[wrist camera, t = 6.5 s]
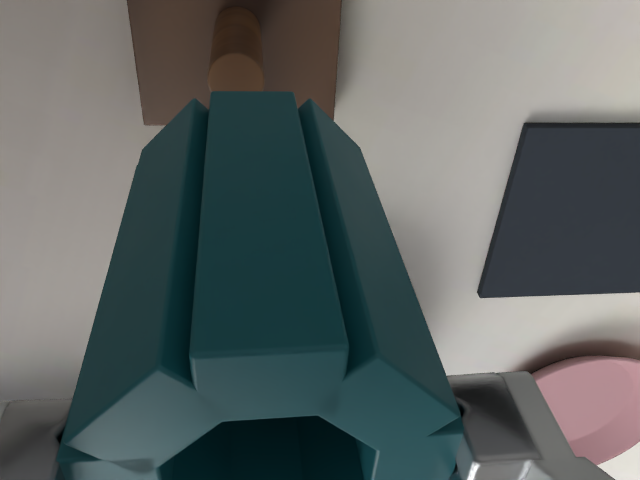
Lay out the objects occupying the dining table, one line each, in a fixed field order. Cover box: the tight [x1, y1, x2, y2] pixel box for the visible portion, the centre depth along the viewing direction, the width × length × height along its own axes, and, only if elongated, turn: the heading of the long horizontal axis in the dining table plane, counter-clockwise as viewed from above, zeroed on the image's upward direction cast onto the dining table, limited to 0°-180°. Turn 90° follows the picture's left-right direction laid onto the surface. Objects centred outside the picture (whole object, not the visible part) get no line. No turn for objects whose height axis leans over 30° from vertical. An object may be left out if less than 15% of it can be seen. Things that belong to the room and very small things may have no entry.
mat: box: [477, 123, 640, 298], centre depth 35 cm, size 12×12×1 cm
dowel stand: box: [127, 0, 342, 125], centre depth 23 cm, size 9×9×8 cm
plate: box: [531, 356, 640, 465], centre depth 45 cm, size 14×14×2 cm
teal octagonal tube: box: [56, 91, 465, 480], centre depth 12 cm, size 6×6×8 cm
